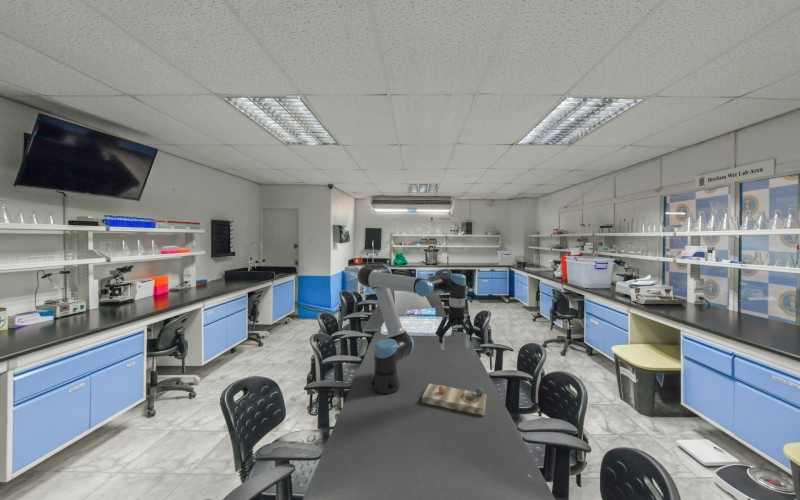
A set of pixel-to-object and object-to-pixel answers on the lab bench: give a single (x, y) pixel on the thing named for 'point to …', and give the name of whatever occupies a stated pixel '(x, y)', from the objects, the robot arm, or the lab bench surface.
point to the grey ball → (479, 391)
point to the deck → (455, 399)
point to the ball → (442, 389)
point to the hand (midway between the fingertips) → (454, 348)
